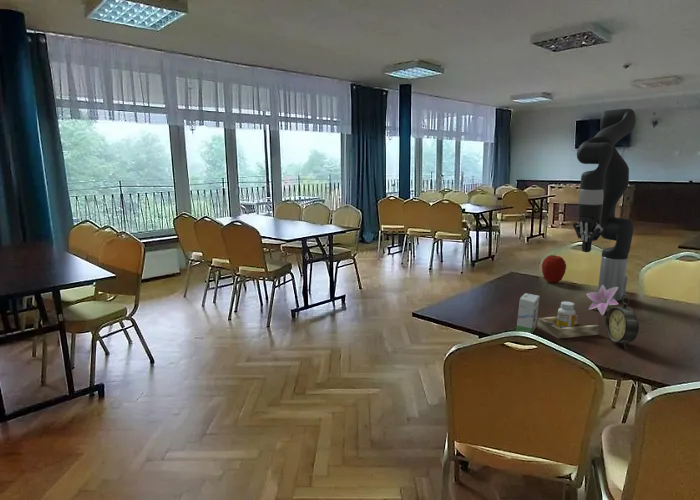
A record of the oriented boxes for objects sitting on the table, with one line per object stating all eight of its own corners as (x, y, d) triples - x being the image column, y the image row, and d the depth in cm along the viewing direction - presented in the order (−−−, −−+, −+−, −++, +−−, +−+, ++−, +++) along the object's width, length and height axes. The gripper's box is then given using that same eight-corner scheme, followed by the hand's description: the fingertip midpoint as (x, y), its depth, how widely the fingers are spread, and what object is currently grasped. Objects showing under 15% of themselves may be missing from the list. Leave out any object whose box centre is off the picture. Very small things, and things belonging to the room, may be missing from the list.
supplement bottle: (569, 327, 158) (572, 300, 156) (576, 333, 153) (579, 305, 151) (553, 327, 158) (556, 300, 156) (560, 333, 153) (563, 305, 151)
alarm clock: (602, 337, 150) (608, 289, 147) (619, 337, 150) (625, 289, 147) (621, 351, 139) (628, 300, 136) (639, 351, 139) (646, 300, 136)
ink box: (521, 325, 161) (523, 292, 159) (537, 328, 158) (539, 294, 156) (515, 333, 154) (518, 298, 151) (531, 336, 151) (534, 301, 149)
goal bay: (575, 323, 163) (576, 313, 162) (598, 334, 152) (599, 324, 152) (536, 326, 160) (537, 317, 159) (557, 338, 149) (558, 328, 148)
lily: (583, 306, 184) (579, 288, 180) (614, 296, 181) (610, 278, 177) (597, 325, 174) (592, 306, 169) (630, 315, 171) (626, 296, 167)
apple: (544, 285, 211) (546, 255, 208) (537, 279, 220) (540, 250, 218) (567, 285, 210) (570, 255, 207) (560, 279, 219) (563, 251, 216)
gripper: (614, 203, 153) (609, 255, 157) (585, 199, 166) (581, 247, 169) (595, 205, 151) (590, 256, 155) (567, 200, 164) (564, 248, 168)
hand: (586, 251), depth 162 cm, fingers closed
